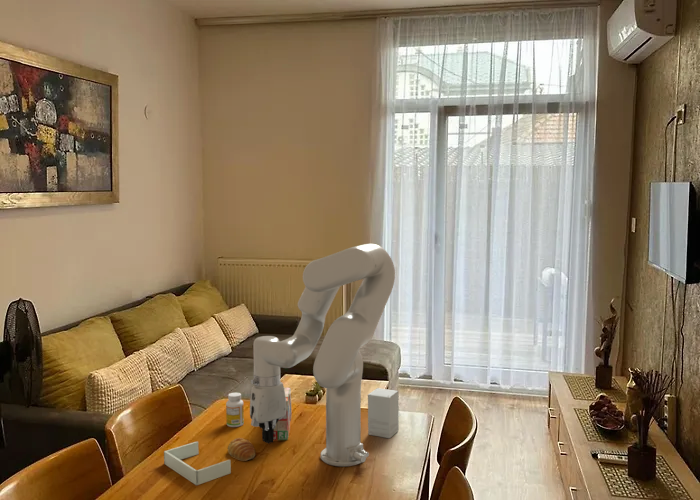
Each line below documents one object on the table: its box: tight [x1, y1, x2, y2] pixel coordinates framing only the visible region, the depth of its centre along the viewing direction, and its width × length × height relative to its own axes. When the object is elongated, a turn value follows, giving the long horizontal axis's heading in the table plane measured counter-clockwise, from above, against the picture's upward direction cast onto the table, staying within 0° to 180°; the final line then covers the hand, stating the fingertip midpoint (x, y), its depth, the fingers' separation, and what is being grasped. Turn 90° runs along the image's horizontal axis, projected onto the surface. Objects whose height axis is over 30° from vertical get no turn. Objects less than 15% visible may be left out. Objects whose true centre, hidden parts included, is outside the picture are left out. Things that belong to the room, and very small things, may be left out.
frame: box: [163, 441, 232, 486], centre depth 167 cm, size 17×10×4 cm, turn 43°
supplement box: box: [367, 387, 400, 439], centre depth 191 cm, size 7×7×13 cm
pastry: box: [227, 437, 256, 462], centre depth 175 cm, size 9×7×4 cm
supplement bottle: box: [225, 392, 245, 428], centre depth 199 cm, size 5×5×10 cm
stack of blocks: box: [273, 387, 292, 441], centre depth 196 cm, size 21×6×12 cm, turn 3°
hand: (268, 441), depth 182 cm, fingers closed
